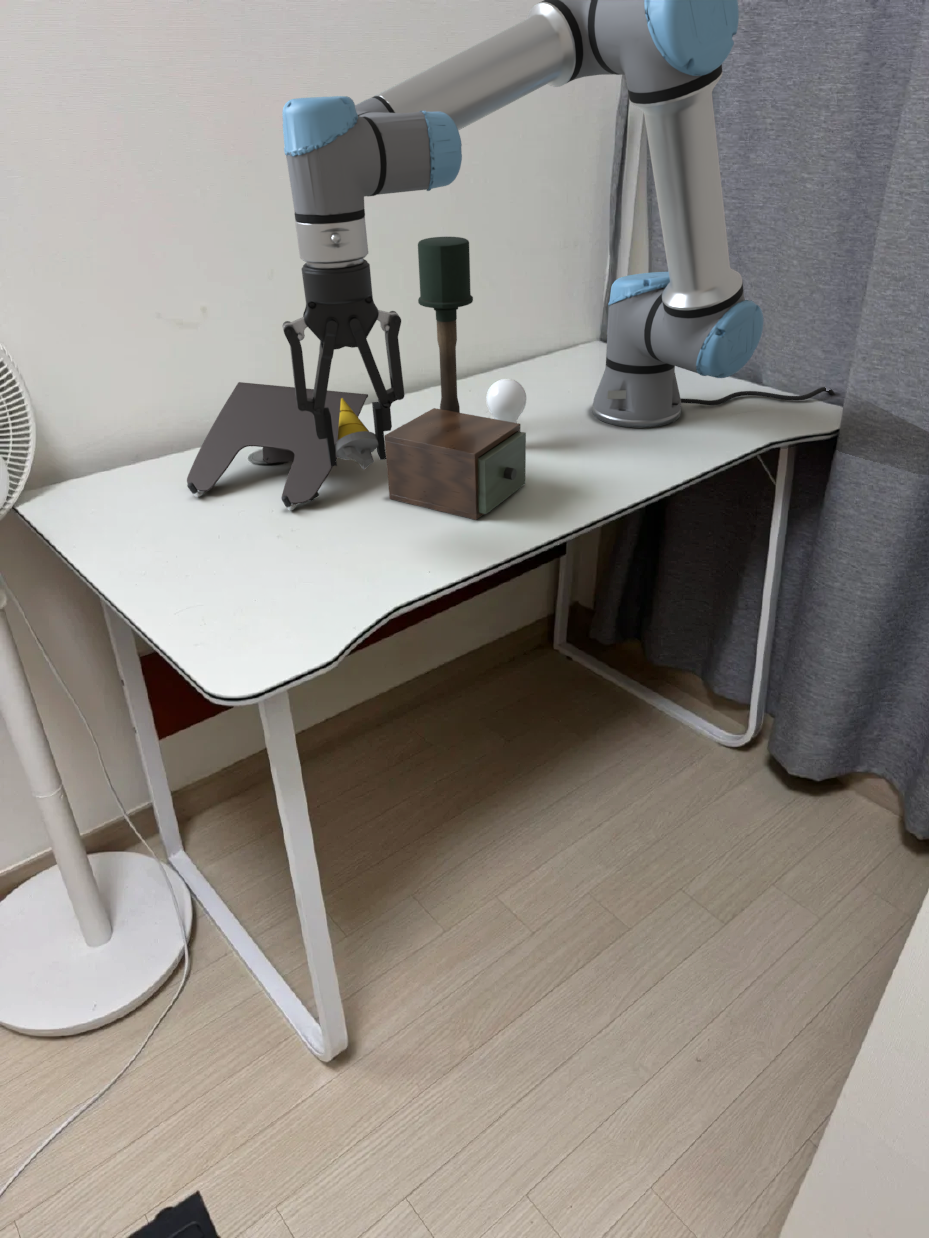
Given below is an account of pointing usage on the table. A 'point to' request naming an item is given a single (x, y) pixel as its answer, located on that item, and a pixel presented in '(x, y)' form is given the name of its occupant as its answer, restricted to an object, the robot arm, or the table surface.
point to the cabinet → (442, 459)
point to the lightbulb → (506, 400)
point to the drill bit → (354, 438)
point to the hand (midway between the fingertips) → (357, 458)
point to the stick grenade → (445, 301)
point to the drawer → (501, 471)
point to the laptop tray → (271, 438)
